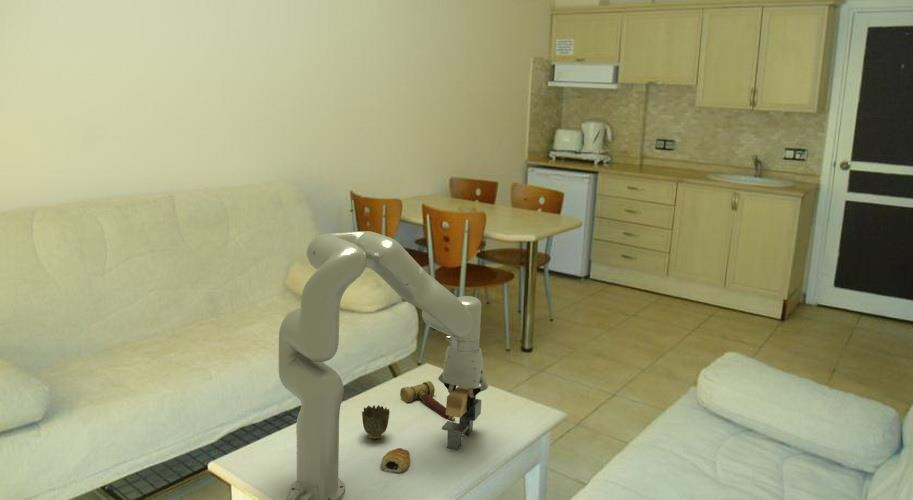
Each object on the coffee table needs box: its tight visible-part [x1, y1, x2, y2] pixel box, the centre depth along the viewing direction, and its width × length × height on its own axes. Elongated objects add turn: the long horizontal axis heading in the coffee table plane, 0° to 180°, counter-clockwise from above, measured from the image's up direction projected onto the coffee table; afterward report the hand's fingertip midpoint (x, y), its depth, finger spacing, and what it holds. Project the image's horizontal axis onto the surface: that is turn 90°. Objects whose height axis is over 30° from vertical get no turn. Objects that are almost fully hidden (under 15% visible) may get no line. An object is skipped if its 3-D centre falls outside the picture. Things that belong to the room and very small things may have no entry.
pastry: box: [379, 447, 411, 473], centre depth 180 cm, size 9×7×4 cm
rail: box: [445, 386, 477, 419], centre depth 191 cm, size 12×4×5 cm, turn 159°
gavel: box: [399, 380, 456, 422], centre depth 212 cm, size 21×5×10 cm
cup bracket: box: [458, 398, 482, 437], centre depth 197 cm, size 5×6×10 cm
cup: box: [361, 404, 391, 441], centre depth 192 cm, size 8×7×8 cm
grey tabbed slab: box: [441, 420, 468, 452], centre depth 190 cm, size 4×6×6 cm, turn 69°
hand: (461, 406), depth 192 cm, fingers closed on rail, 4 cm apart
